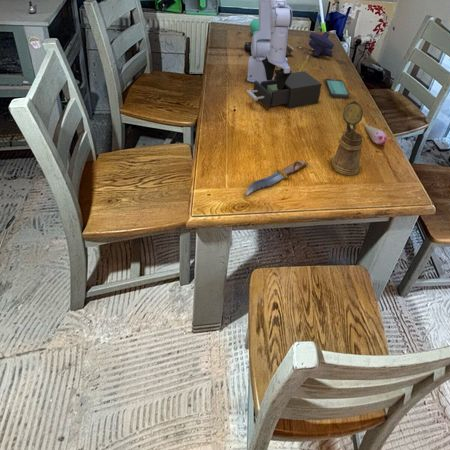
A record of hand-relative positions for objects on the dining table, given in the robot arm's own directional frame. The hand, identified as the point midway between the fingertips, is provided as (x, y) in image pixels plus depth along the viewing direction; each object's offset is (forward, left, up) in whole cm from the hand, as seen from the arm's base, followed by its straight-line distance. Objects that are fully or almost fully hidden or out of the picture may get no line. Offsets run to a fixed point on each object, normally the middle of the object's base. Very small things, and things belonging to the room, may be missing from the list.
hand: (274, 84), depth 145 cm
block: (0, 0, -5) cm, 5 cm away
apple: (+7, +64, -7) cm, 65 cm away
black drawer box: (+7, +7, -7) cm, 13 cm away
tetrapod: (+3, +55, -3) cm, 55 cm away
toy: (-19, +54, -6) cm, 58 cm away
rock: (-15, +47, -5) cm, 49 cm away
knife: (+10, -44, -6) cm, 46 cm away
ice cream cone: (+35, -2, -6) cm, 36 cm away
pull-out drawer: (-1, -1, -6) cm, 6 cm away
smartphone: (+21, +23, -7) cm, 32 cm away
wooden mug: (+31, -29, -7) cm, 43 cm away
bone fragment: (-4, +51, -2) cm, 51 cm away
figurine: (-3, +63, -8) cm, 64 cm away
